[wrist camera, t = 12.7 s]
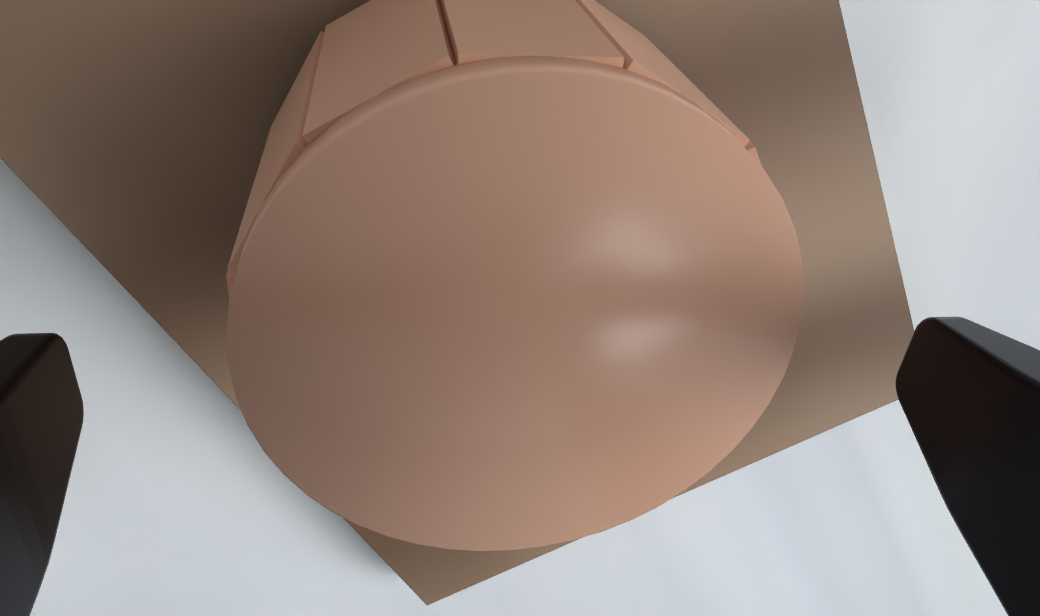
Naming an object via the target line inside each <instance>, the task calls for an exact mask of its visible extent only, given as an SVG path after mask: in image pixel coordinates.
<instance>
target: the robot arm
mask: <svg viewBox="0 0 1040 616" xmlns="http://www.w3.org/2000/svg"><path fill="white" fill-rule="evenodd" d="M896 392H897V396H898V399H899V401H900V404H901V406H902V408H903V410H904V413H905V415H906V417H907V419H908V422H909V424H910V426H911V428H912V431H913V433H914V435H915V437H916V440H917V442H918V444H919V446H920V449H921V451H922V453H923V455H924V458H925V460H926V462H927V464H928V467H929V469H930V471H931V473H932V476H933V478H934V480H935V482H936V484H937V487H938V489H939V491H940V493H941V495H942V498H943V500H944V502H945V504H946V506H947V508H948V510H949V512H950V514H951V516H952V517H953V519H954V521H955V523H956V525H957V527H958V529H959V530H960V532H961V534H962V536H963V537H964V539H965V541H966V543H967V544H968V546H969V548H970V550H971V551H972V553H973V555H974V557H975V558H976V560H977V562H978V564H979V565H980V567H981V569H982V571H983V572H984V574H985V576H986V578H987V579H988V581H989V583H990V585H991V586H992V588H993V590H994V592H995V593H996V595H997V597H998V599H999V600H1000V602H1001V604H1002V606H1003V607H1004V609H1005V611H1006V613H1007V614H1008V616H1040V350H1038V349H1035V348H1033V347H1031V346H1028V345H1026V344H1024V343H1021V342H1019V341H1017V340H1014V339H1012V338H1010V337H1007V336H1005V335H1003V334H1000V333H998V332H996V331H993V330H991V329H989V328H986V327H984V326H981V325H979V324H977V323H974V322H972V321H970V320H967V319H965V318H961V317H930V318H927V319H924V320H923V321H921V322H920V323H919V325H918V326H917V327H916V329H915V331H914V334H913V336H912V339H911V341H910V343H909V346H908V348H907V351H906V353H905V355H904V358H903V360H902V363H901V365H900V367H899V370H898V372H897V376H896ZM82 424H83V401H82V397H81V393H80V390H79V386H78V383H77V379H76V375H75V372H74V368H73V365H72V361H71V358H70V354H69V350H68V347H67V345H66V343H65V341H64V340H63V338H62V337H60V336H59V335H57V334H55V333H29V334H13V335H10V336H8V337H6V338H4V339H2V340H0V616H30V613H31V611H32V608H33V605H34V603H35V600H36V597H37V595H38V592H39V589H40V587H41V584H42V581H43V578H44V575H45V572H46V569H47V566H48V563H49V560H50V556H51V552H52V548H53V545H54V541H55V537H56V533H57V529H58V525H59V520H60V516H61V512H62V508H63V504H64V500H65V495H66V491H67V487H68V483H69V479H70V475H71V470H72V466H73V462H74V458H75V454H76V450H77V445H78V441H79V437H80V433H81V429H82Z"/></svg>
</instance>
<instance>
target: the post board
mask: <svg viewBox="0 0 1040 616" xmlns="http://www.w3.org/2000/svg"><path fill="white" fill-rule="evenodd" d="M368 1H370V0H0V158H1V159H2V160H3V161H4V162H5V163H6V164H7V165H8V166H9V167H10V168H11V169H12V170H13V171H14V172H15V173H16V174H17V175H18V176H19V178H20V179H21V180H22V181H23V182H24V183H25V184H26V185H27V186H28V187H29V188H30V189H31V190H32V191H33V192H34V193H35V194H36V195H37V196H38V197H39V199H40V200H41V201H42V202H43V203H44V204H45V205H46V206H47V207H48V208H49V209H50V210H51V211H52V212H53V213H54V214H55V215H56V216H57V217H58V218H59V220H60V221H61V222H62V223H63V224H64V225H65V226H66V227H67V228H68V229H69V230H70V231H71V232H72V233H73V234H74V235H75V236H76V237H77V238H78V239H79V241H80V242H81V243H82V244H83V245H84V246H85V247H86V248H87V249H88V250H89V251H90V252H91V253H92V254H93V255H94V256H95V257H96V258H97V259H98V260H99V262H100V263H101V264H102V265H103V266H104V267H105V268H106V269H107V270H108V271H109V272H110V273H111V274H112V275H113V276H114V277H115V278H116V279H117V280H118V281H119V283H120V284H121V285H122V286H123V287H124V288H125V289H126V290H127V291H128V292H129V293H130V294H131V295H132V296H133V297H134V298H135V299H136V300H137V301H138V302H139V304H140V305H141V306H142V307H143V308H144V309H145V310H146V311H147V312H148V313H149V314H150V315H151V316H152V317H153V318H154V319H155V320H156V321H157V322H158V323H159V325H160V326H161V327H162V328H163V329H164V330H165V331H166V332H167V333H168V334H169V335H170V336H171V337H172V338H173V339H174V340H175V341H176V342H177V343H178V344H179V345H180V347H181V348H182V349H183V350H184V351H185V352H186V353H187V354H188V355H189V356H190V357H191V358H192V359H193V360H194V361H195V362H196V363H197V364H198V365H199V366H200V368H201V369H202V370H203V371H204V372H205V373H206V374H207V375H208V376H209V377H210V378H211V379H212V380H213V381H214V382H215V383H216V384H217V385H218V386H219V387H220V389H221V390H222V391H223V392H224V393H225V394H226V395H227V396H228V397H229V398H230V399H231V400H232V401H233V402H234V403H235V404H236V405H237V406H238V407H239V408H240V406H239V404H238V401H237V399H236V396H235V392H234V388H233V384H232V380H231V376H230V372H229V368H228V357H227V344H226V327H227V316H228V305H229V293H228V287H227V280H226V274H227V271H228V264H229V261H230V258H231V255H232V251H233V248H234V245H235V242H236V238H237V235H238V232H239V229H240V225H241V222H242V219H243V216H244V212H245V209H246V206H247V203H248V199H249V196H250V193H251V190H252V187H253V183H254V180H255V177H256V174H257V170H258V167H259V164H260V161H261V157H262V154H263V151H264V148H265V144H266V141H267V138H268V135H269V131H270V128H271V125H272V124H273V122H274V120H275V118H276V116H277V114H278V112H279V110H280V108H281V106H282V104H283V102H284V101H285V99H286V97H287V95H288V93H289V91H290V89H291V87H292V85H293V83H294V81H295V79H296V78H297V76H298V74H299V72H300V70H301V68H302V66H303V64H304V62H305V60H306V58H307V56H308V55H309V53H310V51H311V49H312V47H313V45H314V43H315V41H316V39H317V37H318V35H319V33H320V32H321V31H322V32H325V27H326V25H328V24H330V23H332V22H333V21H335V20H337V19H339V18H340V17H342V16H344V15H346V14H347V13H349V12H351V11H353V10H354V9H356V8H358V7H360V6H361V5H363V4H365V3H367V2H368ZM595 1H596V2H598V3H599V4H601V5H602V6H603V7H605V8H606V9H608V10H609V11H610V12H612V13H613V14H615V15H616V16H618V17H619V18H620V19H622V20H623V21H625V22H626V23H627V24H629V25H630V26H632V27H633V28H635V29H636V30H637V31H639V32H640V33H642V34H643V35H644V36H646V37H647V38H648V39H649V40H650V41H651V42H652V43H653V44H654V45H655V46H656V47H657V48H658V49H659V50H660V51H661V52H662V53H663V54H664V55H665V56H666V57H667V58H668V59H669V60H670V61H671V62H672V63H673V64H674V65H675V66H676V67H677V68H678V69H679V70H680V71H681V72H682V73H683V74H684V75H685V76H686V77H687V78H688V79H689V80H690V81H691V82H692V83H693V84H694V85H695V86H696V87H697V88H698V89H699V90H700V91H701V92H702V93H703V94H704V95H705V96H706V97H707V98H708V99H709V100H710V101H711V102H712V103H713V104H714V105H715V106H716V107H717V108H718V109H719V110H720V111H721V112H722V113H723V114H724V115H725V116H726V117H727V118H728V119H729V120H730V121H731V122H732V123H733V124H734V125H735V126H736V127H737V128H738V129H739V130H740V131H741V132H743V133H744V134H745V135H746V136H747V137H748V138H749V139H750V142H751V143H752V144H753V145H754V146H755V148H756V151H757V154H758V157H759V159H760V162H761V165H762V168H763V169H764V170H765V171H766V173H767V175H768V176H769V178H770V179H771V181H772V182H773V184H774V186H775V187H776V189H777V190H778V192H779V193H780V195H781V197H782V198H783V201H784V203H785V206H786V208H787V210H788V213H789V215H790V217H791V220H792V222H793V225H794V227H795V231H796V235H797V239H798V243H799V247H800V252H801V256H802V265H803V279H804V297H803V308H802V319H801V324H800V328H799V332H798V336H797V341H796V345H795V349H794V351H793V354H792V357H791V359H790V362H789V364H788V367H787V370H786V372H785V375H784V377H783V379H782V381H781V383H780V385H779V386H778V388H777V390H776V392H775V394H774V396H773V398H772V399H771V401H770V403H769V405H768V406H767V407H766V409H765V410H764V412H763V413H762V415H761V416H760V417H759V419H758V420H757V422H756V423H755V425H754V426H753V427H752V429H751V430H750V431H749V432H748V433H747V434H746V435H745V437H744V438H743V439H742V440H741V441H740V442H739V443H738V444H737V446H736V447H735V448H734V449H733V450H732V451H731V452H730V453H729V454H728V455H727V456H726V457H725V458H724V459H722V460H721V461H720V462H719V463H718V464H717V465H716V466H715V467H714V468H713V469H712V470H711V471H709V472H708V473H707V474H705V475H704V476H703V477H702V478H700V479H699V480H698V481H696V482H695V483H694V484H692V485H691V486H690V487H688V488H687V489H686V490H684V491H683V492H681V493H679V494H678V495H681V494H683V493H685V492H688V491H690V490H692V489H694V488H697V487H699V486H701V485H704V484H706V483H708V482H710V481H713V480H715V479H717V478H720V477H722V476H724V475H726V474H729V473H731V472H733V471H736V470H738V469H740V468H742V467H745V466H747V465H749V464H752V463H754V462H756V461H758V460H761V459H763V458H765V457H768V456H770V455H772V454H774V453H777V452H779V451H781V450H784V449H786V448H788V447H791V446H793V445H795V444H797V443H800V442H802V441H804V440H807V439H809V438H811V437H813V436H816V435H818V434H820V433H823V432H825V431H827V430H829V429H832V428H834V427H836V426H839V425H841V424H843V423H845V422H848V421H850V420H852V419H855V418H857V417H859V416H861V415H864V414H866V413H868V412H871V411H873V410H875V409H877V408H880V407H882V406H884V405H887V404H889V403H891V402H893V401H896V400H898V396H897V392H896V376H897V372H898V370H899V367H900V365H901V363H902V360H903V358H904V355H905V353H906V351H907V348H908V346H909V343H910V341H911V339H912V336H913V334H914V328H913V324H912V320H911V315H910V311H909V306H908V302H907V298H906V293H905V289H904V284H903V280H902V276H901V271H900V267H899V263H898V258H897V254H896V249H895V245H894V241H893V236H892V232H891V228H890V223H889V219H888V214H887V210H886V206H885V201H884V197H883V193H882V188H881V184H880V179H879V175H878V171H877V166H876V162H875V157H874V153H873V149H872V144H871V140H870V136H869V131H868V127H867V122H866V118H865V114H864V109H863V105H862V101H861V96H860V92H859V87H858V83H857V79H856V74H855V70H854V66H853V61H852V57H851V52H850V48H849V44H848V39H847V35H846V31H845V26H844V22H843V17H842V13H841V9H840V4H839V0H595ZM240 410H241V408H240ZM678 495H676V496H678ZM676 496H674V497H676ZM674 497H673V498H674ZM671 499H672V498H671ZM343 518H344V517H343ZM344 519H345V520H346V521H347V522H348V523H349V524H350V525H351V526H352V527H353V528H354V529H355V530H356V531H357V532H358V533H359V534H360V536H361V537H362V538H363V539H364V540H365V541H366V542H367V543H368V544H369V545H370V546H371V547H372V548H373V549H374V550H375V551H376V552H377V553H378V554H379V555H380V557H381V558H382V559H383V560H384V561H385V562H386V563H387V564H388V565H389V566H390V567H391V568H392V569H393V570H394V571H395V572H396V573H397V574H398V575H399V576H400V578H401V579H402V580H403V581H404V582H405V583H406V584H407V585H408V586H409V587H410V588H411V589H412V590H413V591H414V592H415V593H416V594H417V595H418V596H419V597H420V599H421V600H422V601H423V602H424V603H425V604H426V605H429V604H431V603H434V602H436V601H438V600H440V599H443V598H445V597H447V596H450V595H452V594H454V593H456V592H459V591H461V590H463V589H466V588H468V587H470V586H472V585H475V584H477V583H479V582H482V581H484V580H486V579H488V578H491V577H493V576H495V575H498V574H500V573H502V572H504V571H507V570H509V569H511V568H514V567H516V566H518V565H521V564H523V563H525V562H527V561H530V560H532V559H534V558H537V557H539V556H541V555H543V554H546V553H548V552H550V551H553V550H555V549H557V548H559V547H562V546H564V545H566V544H569V543H571V542H573V541H575V540H578V539H580V538H578V539H575V540H572V541H567V542H562V543H557V544H552V545H547V546H542V547H534V548H526V549H517V550H502V551H470V550H454V549H444V548H438V547H432V546H426V545H419V544H415V543H411V542H407V541H404V540H400V539H396V538H392V537H388V536H386V535H383V534H380V533H378V532H375V531H372V530H370V529H367V528H364V527H362V526H359V525H357V524H355V523H353V522H351V521H349V520H347V519H346V518H344Z"/></svg>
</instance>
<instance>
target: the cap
mask: <svg viewBox="0 0 1040 616" xmlns="http://www.w3.org/2000/svg"><path fill="white" fill-rule="evenodd" d="M226 280H227V287H228V293H229V305H228V316H227V327H226V344H227V357H228V368H229V372H230V376H231V380H232V384H233V388H234V392H235V396H236V399H237V401H238V404H239V406H240V408H241V411H242V413H243V415H244V418H245V420H246V422H247V424H248V427H249V428H250V430H251V431H252V433H253V434H254V436H255V438H256V439H257V441H258V442H259V444H260V446H261V447H262V449H263V450H264V452H265V453H266V454H267V455H268V456H269V458H270V459H271V460H272V461H273V462H274V463H275V465H276V466H277V467H278V468H279V469H280V470H281V472H282V473H283V474H284V475H285V476H286V477H287V478H289V479H290V480H291V481H292V482H293V483H294V484H295V485H297V486H298V487H299V488H300V489H301V490H302V491H303V492H304V493H306V494H307V495H308V496H310V497H311V498H313V499H314V500H316V501H317V502H319V503H320V504H322V505H323V506H324V507H326V508H327V509H329V510H330V511H332V512H334V513H336V514H338V515H340V516H342V517H344V518H346V519H347V520H349V521H351V522H353V523H355V524H357V525H359V526H362V527H364V528H367V529H370V530H372V531H375V532H378V533H380V534H383V535H386V536H388V537H392V538H396V539H400V540H404V541H407V542H411V543H415V544H419V545H426V546H432V547H438V548H444V549H454V550H470V551H502V550H517V549H526V548H534V547H542V546H547V545H552V544H557V543H562V542H567V541H572V540H575V539H578V538H582V537H585V536H589V535H592V534H595V533H599V532H602V531H605V530H607V529H610V528H612V527H615V526H617V525H620V524H622V523H625V522H627V521H630V520H632V519H634V518H636V517H638V516H640V515H642V514H644V513H646V512H648V511H650V510H652V509H654V508H656V507H658V506H660V505H661V504H663V503H665V502H666V501H668V500H670V499H671V498H673V497H674V496H676V495H678V494H679V493H681V492H683V491H684V490H686V489H687V488H688V487H690V486H691V485H692V484H694V483H695V482H696V481H698V480H699V479H700V478H702V477H703V476H704V475H705V474H707V473H708V472H709V471H711V470H712V469H713V468H714V467H715V466H716V465H717V464H718V463H719V462H720V461H721V460H722V459H724V458H725V457H726V456H727V455H728V454H729V453H730V452H731V451H732V450H733V449H734V448H735V447H736V446H737V444H738V443H739V442H740V441H741V440H742V439H743V438H744V437H745V435H746V434H747V433H748V432H749V431H750V430H751V429H752V427H753V426H754V425H755V423H756V422H757V420H758V419H759V417H760V416H761V415H762V413H763V412H764V410H765V409H766V407H767V406H768V405H769V403H770V401H771V399H772V398H773V396H774V394H775V392H776V390H777V388H778V386H779V385H780V383H781V381H782V379H783V377H784V375H785V372H786V370H787V367H788V364H789V362H790V359H791V357H792V354H793V351H794V349H795V345H796V341H797V336H798V332H799V328H800V324H801V319H802V308H803V297H804V279H803V265H802V256H801V252H800V247H799V243H798V239H797V235H796V231H795V227H794V225H793V222H792V220H791V217H790V215H789V213H788V210H787V208H786V206H785V203H784V201H783V198H782V197H781V195H780V193H779V192H778V190H777V189H776V187H775V186H774V184H773V182H772V181H771V179H770V178H769V176H768V175H767V173H766V171H765V170H764V169H763V168H762V165H761V162H760V159H759V157H758V154H757V151H756V148H755V146H754V145H753V144H752V143H751V142H750V139H749V138H748V137H747V136H746V135H745V134H744V133H743V132H741V131H740V130H739V129H738V128H737V127H736V126H735V125H734V124H733V123H732V122H731V121H730V120H729V119H728V118H727V117H726V116H725V115H724V114H723V113H722V112H721V111H720V110H719V109H718V108H717V107H716V106H715V105H714V104H713V103H712V102H711V101H710V100H709V99H708V98H707V97H706V96H705V95H704V94H703V93H702V92H701V91H700V90H699V89H698V88H697V87H696V86H695V85H694V84H693V83H692V82H691V81H690V80H689V79H688V78H687V77H686V76H685V75H684V74H683V73H682V72H681V71H680V70H679V69H678V68H677V67H676V66H675V65H674V64H673V63H672V62H671V61H670V60H669V59H668V58H667V57H666V56H665V55H664V54H663V53H662V52H661V51H660V50H659V49H658V48H657V47H656V46H655V45H654V44H653V43H652V42H651V41H650V40H649V39H648V38H647V37H646V36H644V35H643V34H642V33H640V32H639V31H637V30H636V29H635V28H633V27H632V26H630V25H629V24H627V23H626V22H625V21H623V20H622V19H620V18H619V17H618V16H616V15H615V14H613V13H612V12H610V11H609V10H608V9H606V8H605V7H603V6H602V5H601V4H599V3H598V2H596V1H595V0H370V1H368V2H367V3H365V4H363V5H361V6H360V7H358V8H356V9H354V10H353V11H351V12H349V13H347V14H346V15H344V16H342V17H340V18H339V19H337V20H335V21H333V22H332V23H330V24H328V25H326V27H325V32H322V31H321V32H320V33H319V35H318V37H317V39H316V41H315V43H314V45H313V47H312V49H311V51H310V53H309V55H308V56H307V58H306V60H305V62H304V64H303V66H302V68H301V70H300V72H299V74H298V76H297V78H296V79H295V81H294V83H293V85H292V87H291V89H290V91H289V93H288V95H287V97H286V99H285V101H284V102H283V104H282V106H281V108H280V110H279V112H278V114H277V116H276V118H275V120H274V122H273V124H272V125H271V128H270V131H269V135H268V138H267V141H266V144H265V148H264V151H263V154H262V157H261V161H260V164H259V167H258V170H257V174H256V177H255V180H254V183H253V187H252V190H251V193H250V196H249V199H248V203H247V206H246V209H245V212H244V216H243V219H242V222H241V225H240V229H239V232H238V235H237V238H236V242H235V245H234V248H233V251H232V255H231V258H230V261H229V264H228V271H227V274H226Z"/></svg>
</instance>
